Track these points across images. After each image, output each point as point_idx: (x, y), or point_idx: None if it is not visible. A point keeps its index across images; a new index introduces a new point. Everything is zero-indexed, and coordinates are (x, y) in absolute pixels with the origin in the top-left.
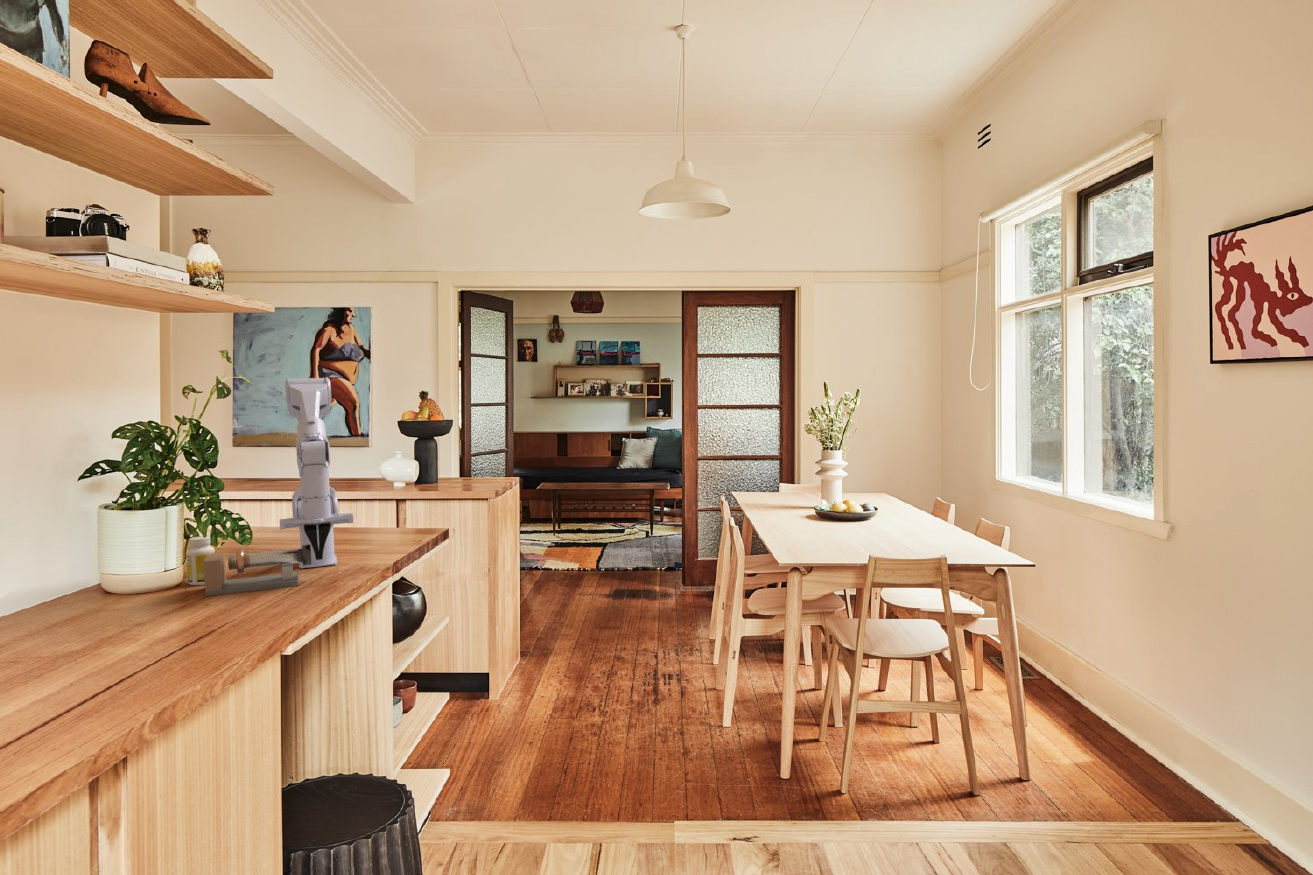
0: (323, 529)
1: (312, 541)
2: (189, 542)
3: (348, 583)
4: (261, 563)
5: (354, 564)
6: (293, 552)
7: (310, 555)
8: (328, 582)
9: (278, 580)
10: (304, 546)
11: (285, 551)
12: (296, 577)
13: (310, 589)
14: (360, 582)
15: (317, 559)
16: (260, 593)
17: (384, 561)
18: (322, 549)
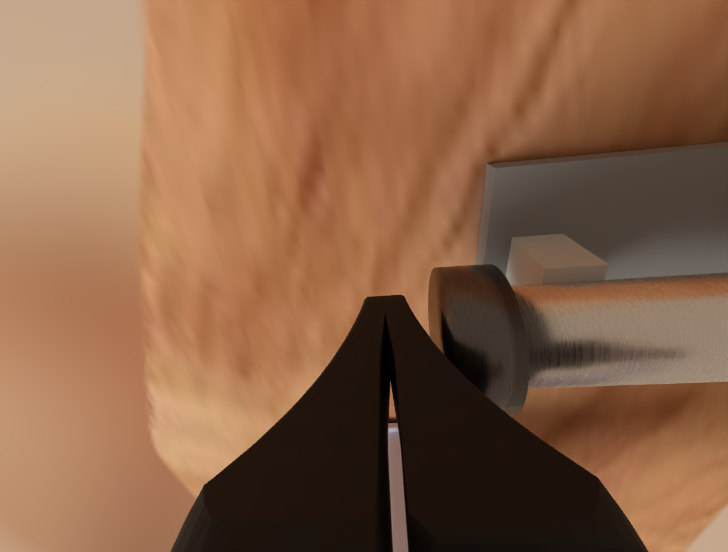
0: (275, 529)
1: (448, 381)
2: None
3: (223, 97)
4: None
5: (284, 413)
6: (584, 326)
7: (446, 282)
8: (338, 172)
9: (584, 223)
10: (507, 371)
11: (653, 345)
12: (492, 251)
13: (425, 21)
14: (158, 93)
15: (395, 296)
16: (712, 45)
17: (190, 414)
18: (356, 330)
